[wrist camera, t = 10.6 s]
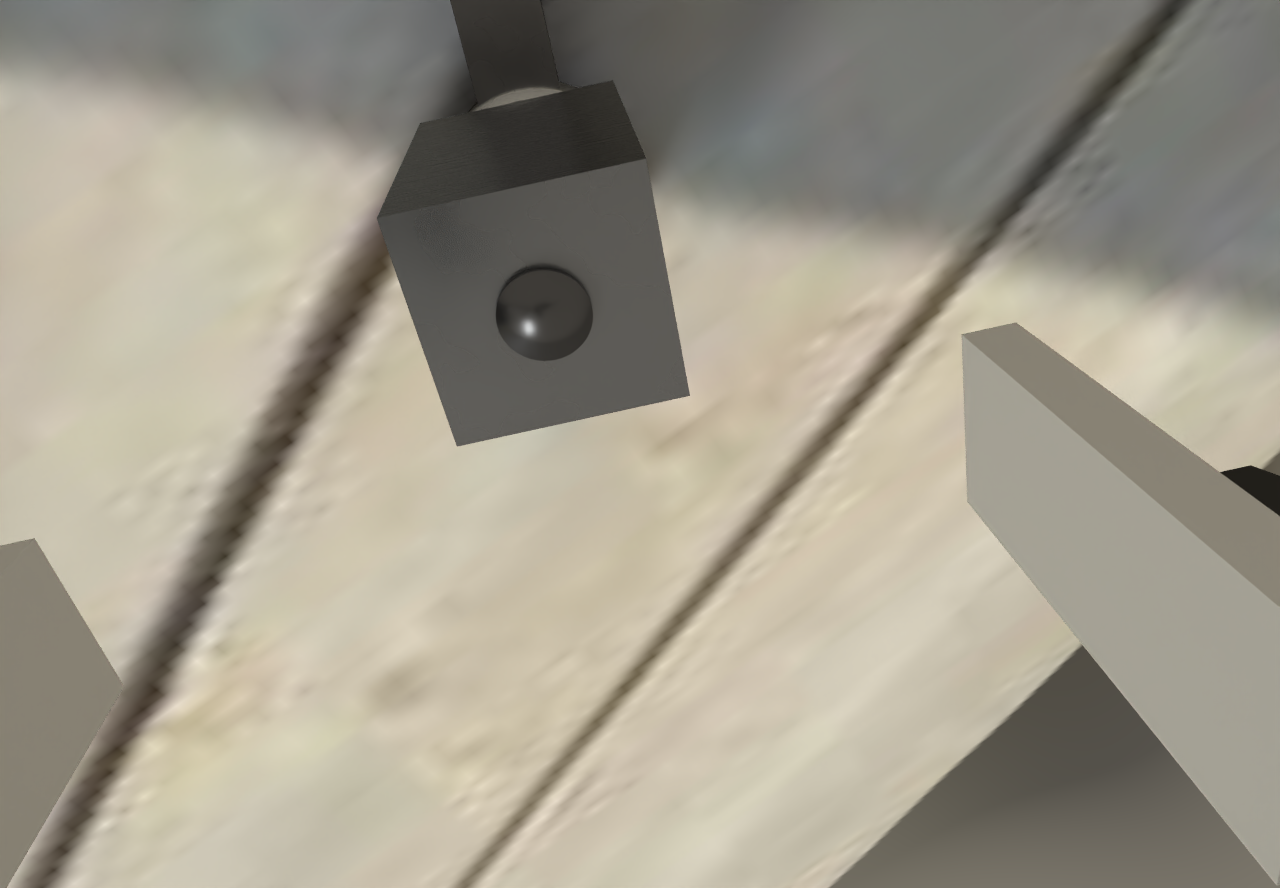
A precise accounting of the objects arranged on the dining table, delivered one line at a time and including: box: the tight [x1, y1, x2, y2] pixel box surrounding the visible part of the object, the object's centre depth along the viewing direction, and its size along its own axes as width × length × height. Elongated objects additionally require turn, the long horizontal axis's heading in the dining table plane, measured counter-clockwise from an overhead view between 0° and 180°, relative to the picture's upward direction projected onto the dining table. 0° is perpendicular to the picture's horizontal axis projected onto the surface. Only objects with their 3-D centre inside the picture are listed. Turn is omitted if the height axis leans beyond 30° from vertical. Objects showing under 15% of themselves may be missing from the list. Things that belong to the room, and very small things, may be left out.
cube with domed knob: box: [377, 80, 690, 446], centre depth 27 cm, size 6×6×10 cm
